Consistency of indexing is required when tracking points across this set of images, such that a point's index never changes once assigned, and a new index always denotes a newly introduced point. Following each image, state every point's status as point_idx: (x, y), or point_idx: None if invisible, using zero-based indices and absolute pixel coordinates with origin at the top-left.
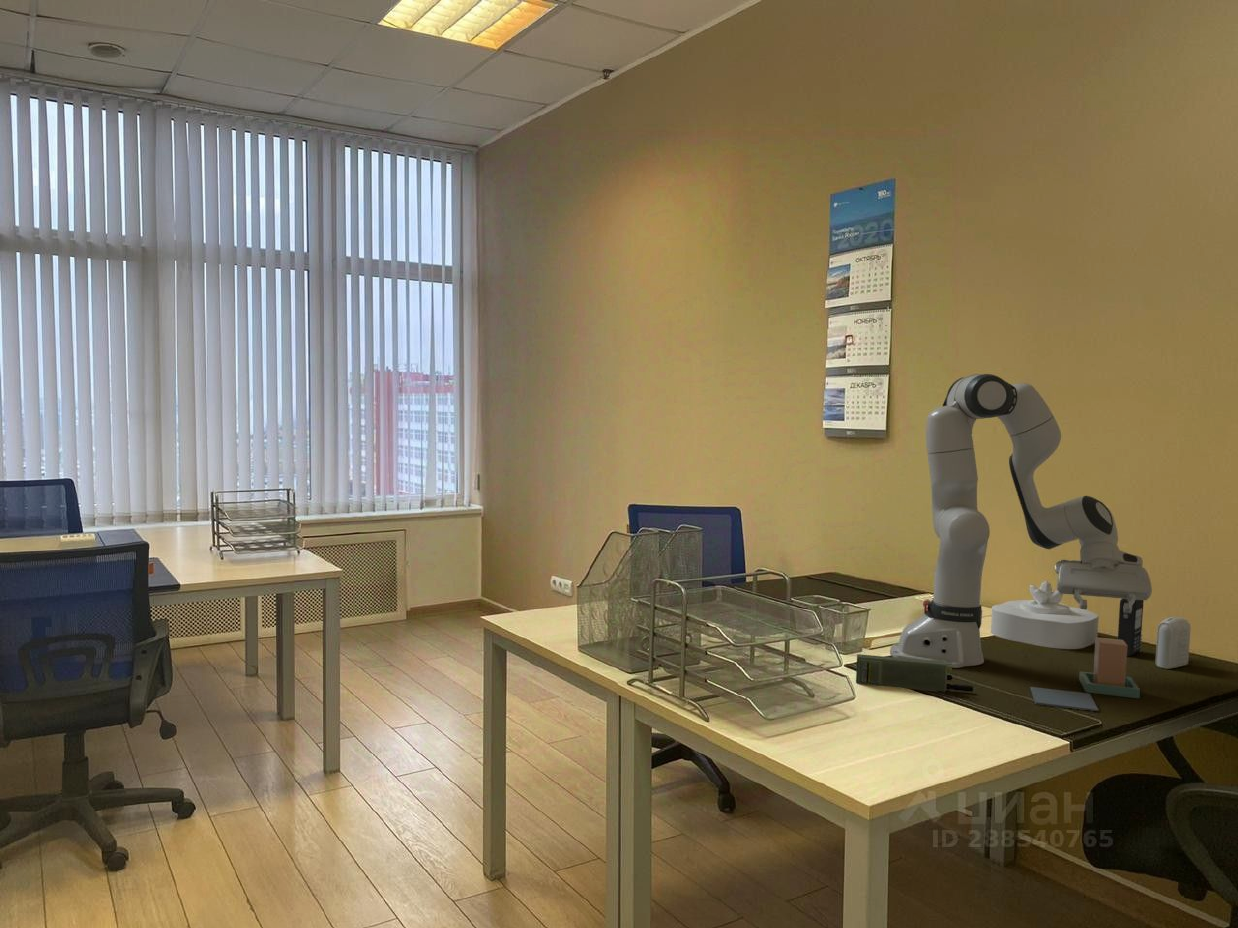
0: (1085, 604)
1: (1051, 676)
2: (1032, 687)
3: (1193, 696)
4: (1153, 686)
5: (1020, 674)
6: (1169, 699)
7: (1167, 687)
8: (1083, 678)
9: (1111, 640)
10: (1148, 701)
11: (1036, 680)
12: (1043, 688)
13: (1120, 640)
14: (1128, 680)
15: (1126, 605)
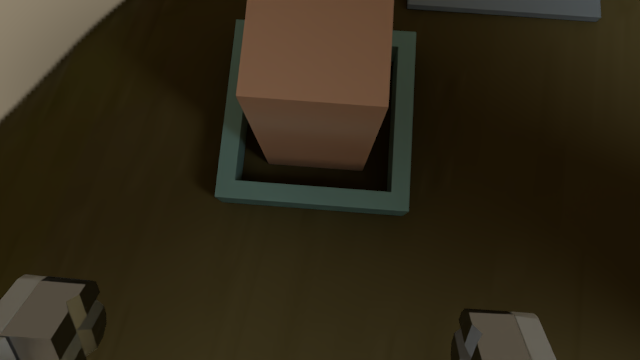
0: (488, 314)
1: (503, 227)
2: (594, 11)
3: (31, 131)
4: (132, 221)
5: (622, 212)
6: (138, 61)
7: (80, 226)
8: (412, 107)
9: (311, 53)
10: (221, 12)
11: (566, 144)
12: (557, 12)
13: (255, 71)
14: (239, 138)
15: (51, 308)
